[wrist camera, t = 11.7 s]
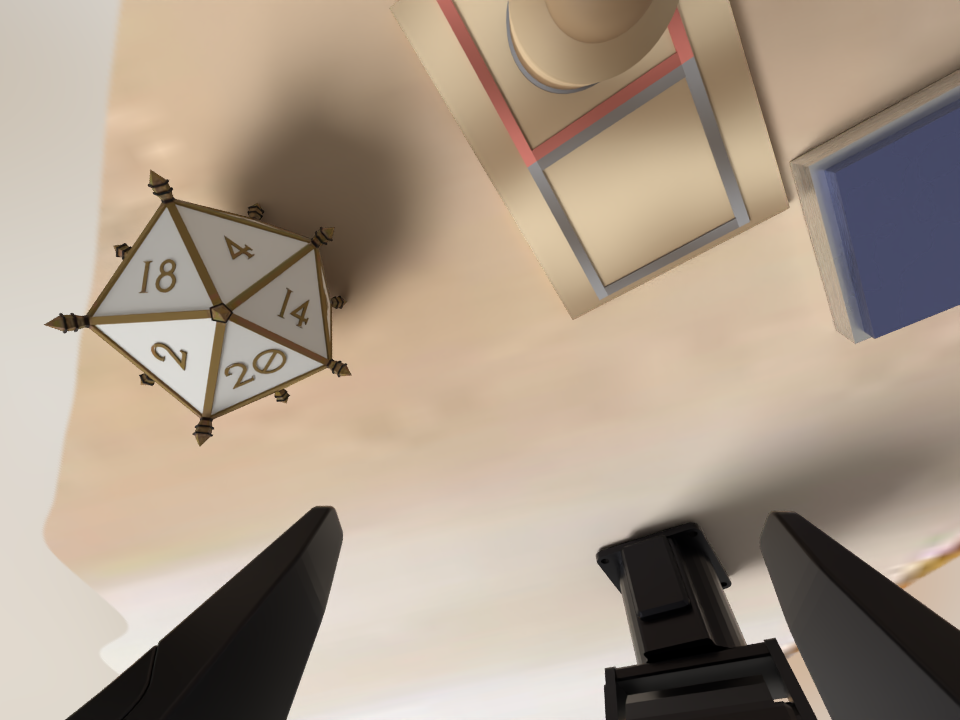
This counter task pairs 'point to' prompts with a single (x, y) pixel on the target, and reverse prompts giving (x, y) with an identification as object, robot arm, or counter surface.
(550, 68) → the stamp
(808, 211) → the ink pad
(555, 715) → the counter surface
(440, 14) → the card sheet
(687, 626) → the robot arm
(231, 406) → the game die
